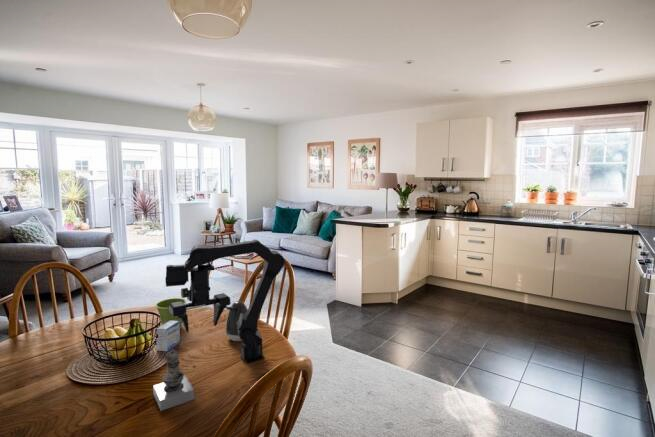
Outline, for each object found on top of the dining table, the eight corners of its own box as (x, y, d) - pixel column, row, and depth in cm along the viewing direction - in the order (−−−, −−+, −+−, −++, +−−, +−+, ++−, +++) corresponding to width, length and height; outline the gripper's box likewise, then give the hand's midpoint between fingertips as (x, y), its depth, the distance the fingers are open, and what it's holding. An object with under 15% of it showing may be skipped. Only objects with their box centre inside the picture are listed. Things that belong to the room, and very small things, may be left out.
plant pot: (167, 322, 158) (166, 297, 157) (192, 323, 156) (191, 298, 155) (150, 333, 146) (149, 307, 145) (177, 335, 145) (176, 308, 143)
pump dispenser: (220, 339, 142) (219, 301, 140) (241, 330, 150) (241, 295, 148) (235, 347, 135) (234, 308, 134) (257, 338, 143) (256, 301, 142)
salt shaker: (161, 385, 105) (160, 346, 104) (183, 379, 108) (181, 341, 107) (163, 395, 100) (162, 355, 99) (186, 389, 103) (184, 350, 102)
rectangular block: (185, 384, 111) (185, 375, 111) (194, 399, 104) (193, 389, 103) (153, 395, 106) (153, 385, 105) (160, 411, 98) (160, 400, 98)
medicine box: (167, 352, 131) (166, 329, 130) (156, 350, 132) (155, 328, 131) (180, 342, 139) (179, 320, 138) (170, 341, 140) (169, 319, 139)
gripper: (218, 273, 131) (220, 315, 133) (164, 282, 120) (166, 327, 122) (230, 281, 122) (231, 325, 124) (172, 291, 111) (174, 339, 113)
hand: (201, 328), depth 121 cm, fingers open, 9 cm apart
